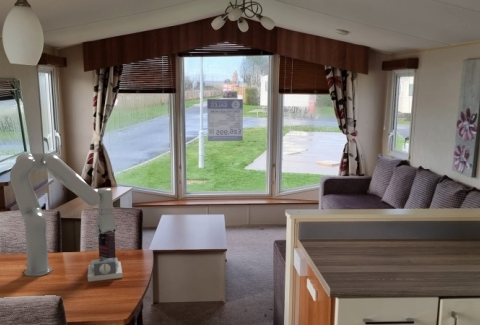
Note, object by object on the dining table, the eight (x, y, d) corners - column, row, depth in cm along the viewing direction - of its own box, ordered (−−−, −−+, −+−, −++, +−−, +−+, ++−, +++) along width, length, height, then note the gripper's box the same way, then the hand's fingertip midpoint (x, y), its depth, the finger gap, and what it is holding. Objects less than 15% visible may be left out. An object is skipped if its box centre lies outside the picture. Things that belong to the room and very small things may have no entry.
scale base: (88, 269, 224) (87, 253, 223) (120, 265, 229) (120, 250, 228) (87, 281, 209) (87, 265, 207) (122, 277, 214) (121, 261, 212)
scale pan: (91, 262, 223) (91, 260, 223) (117, 259, 227) (117, 257, 227) (90, 270, 213) (90, 267, 212) (118, 267, 217) (118, 264, 217)
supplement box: (116, 260, 237) (115, 232, 235) (109, 262, 233) (107, 234, 231) (105, 256, 242) (104, 229, 240) (98, 259, 238) (97, 231, 236)
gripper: (112, 206, 243) (113, 238, 245) (88, 213, 228) (89, 246, 231) (122, 208, 239) (123, 240, 242) (98, 215, 224) (99, 249, 227)
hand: (106, 243), depth 236 cm, fingers closed on supplement box, 5 cm apart
